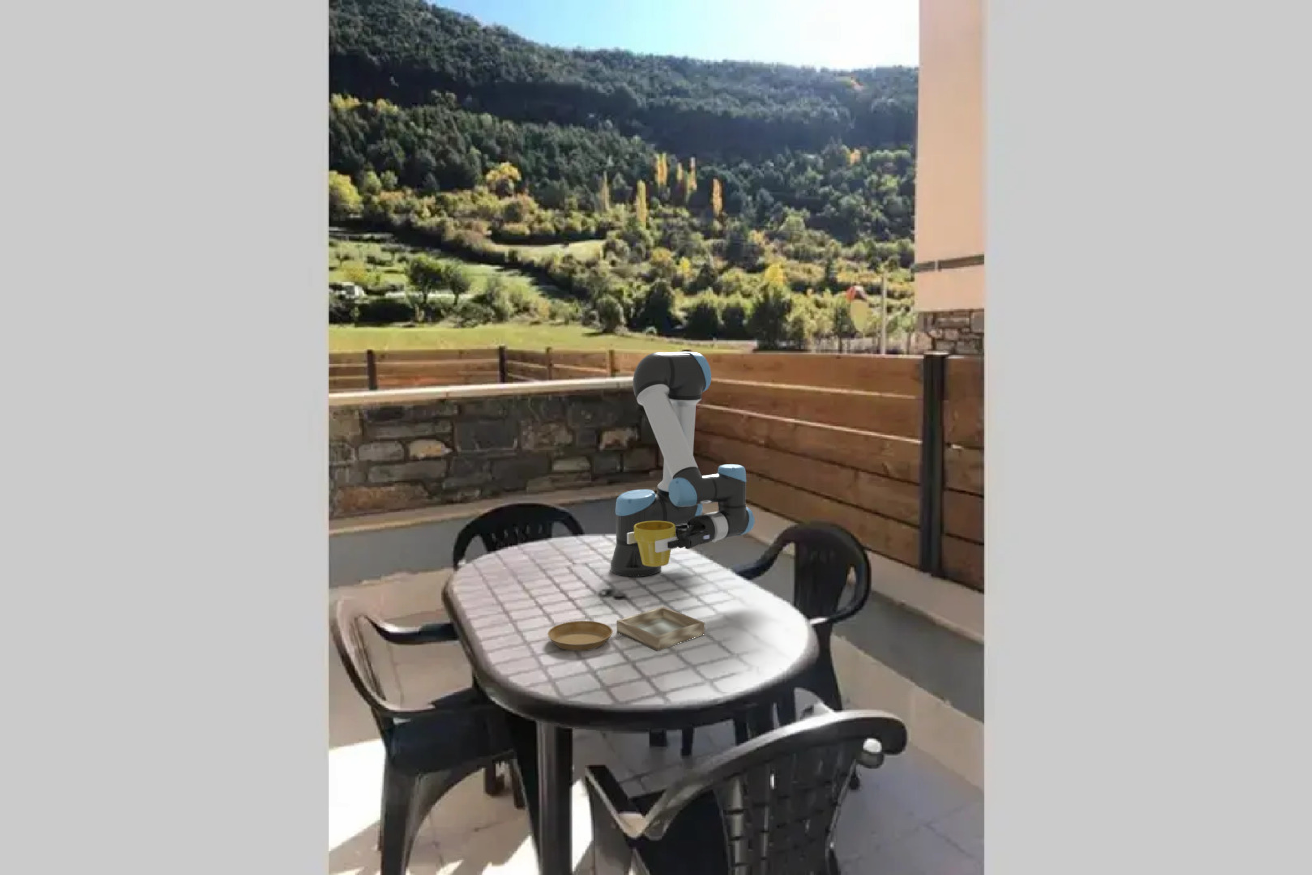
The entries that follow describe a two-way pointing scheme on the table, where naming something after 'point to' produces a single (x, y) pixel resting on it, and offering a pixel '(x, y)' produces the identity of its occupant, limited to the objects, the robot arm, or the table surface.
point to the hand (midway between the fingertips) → (641, 542)
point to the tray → (660, 628)
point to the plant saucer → (580, 635)
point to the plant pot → (653, 541)
